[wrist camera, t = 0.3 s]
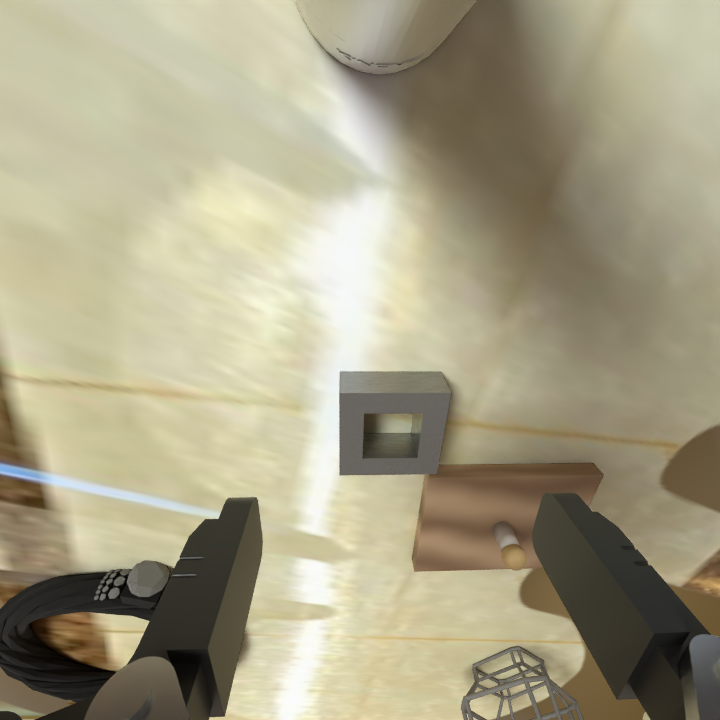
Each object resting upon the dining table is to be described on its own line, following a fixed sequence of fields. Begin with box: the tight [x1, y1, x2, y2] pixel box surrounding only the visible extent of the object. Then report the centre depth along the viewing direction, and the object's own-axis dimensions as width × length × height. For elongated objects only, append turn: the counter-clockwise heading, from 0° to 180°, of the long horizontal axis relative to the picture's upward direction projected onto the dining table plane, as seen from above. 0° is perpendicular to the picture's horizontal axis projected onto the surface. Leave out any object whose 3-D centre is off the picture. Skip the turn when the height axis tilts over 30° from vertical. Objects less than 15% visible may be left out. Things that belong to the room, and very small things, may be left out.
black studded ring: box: [0, 561, 170, 703], centre depth 43 cm, size 28×4×30 cm
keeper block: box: [412, 463, 604, 572], centre depth 34 cm, size 14×16×6 cm
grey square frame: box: [340, 372, 451, 475], centre depth 28 cm, size 8×8×3 cm
